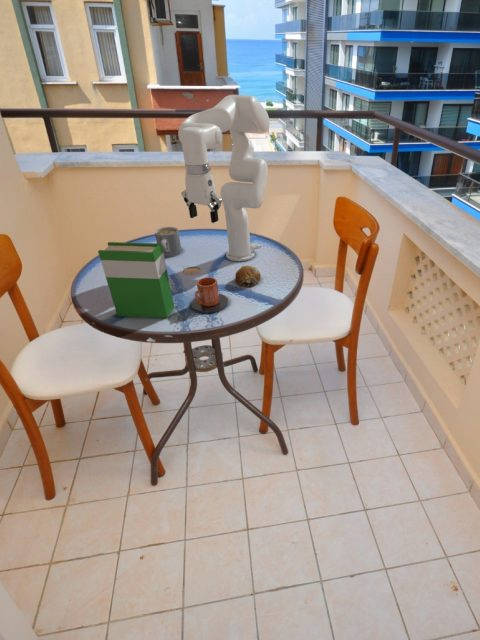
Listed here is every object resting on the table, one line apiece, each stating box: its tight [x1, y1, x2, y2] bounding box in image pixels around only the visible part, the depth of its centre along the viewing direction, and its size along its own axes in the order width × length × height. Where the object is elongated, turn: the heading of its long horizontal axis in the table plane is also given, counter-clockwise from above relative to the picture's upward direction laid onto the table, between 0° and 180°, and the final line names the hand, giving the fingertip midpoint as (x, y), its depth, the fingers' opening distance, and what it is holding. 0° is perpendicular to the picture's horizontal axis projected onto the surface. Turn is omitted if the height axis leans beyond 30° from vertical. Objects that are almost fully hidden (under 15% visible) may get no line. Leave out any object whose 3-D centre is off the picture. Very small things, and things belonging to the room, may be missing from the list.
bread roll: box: [235, 265, 261, 287], centre depth 163 cm, size 10×10×8 cm
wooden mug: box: [194, 276, 220, 306], centre depth 146 cm, size 10×7×8 cm
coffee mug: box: [154, 226, 183, 258], centre depth 182 cm, size 13×10×10 cm
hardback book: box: [97, 241, 175, 319], centre depth 138 cm, size 18×7×24 cm, turn 86°
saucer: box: [190, 293, 229, 314], centre depth 149 cm, size 13×13×1 cm
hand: (204, 219), depth 146 cm, fingers open, 9 cm apart
